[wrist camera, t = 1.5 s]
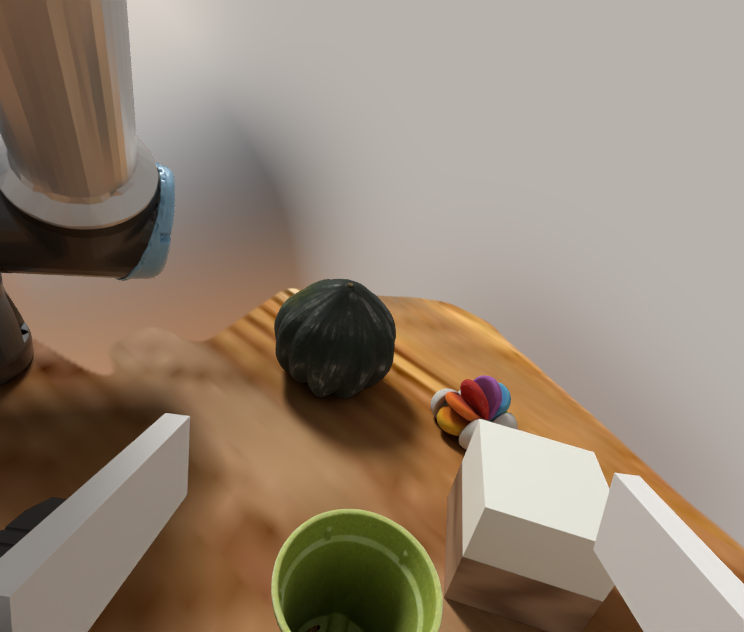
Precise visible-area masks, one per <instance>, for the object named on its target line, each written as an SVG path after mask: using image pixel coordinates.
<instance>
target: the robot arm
mask: <svg viewBox="0 0 744 632" xmlns="http://www.w3.org/2000/svg"><path fill="white" fill-rule="evenodd" d="M0 134H1V136H0V385H2V384H4V383H6V382H8V381H9V380H11V379H12V378H14V377H15V376H17V375H18V374H20V373H21V372H22V371H23V370H24V369H25V368H26V367H27V366H28V365H29V363H30V362H31V360H32V357H33V343H32V336H31V332H30V330H29V328H28V326H27V324H26V323H25V322H24V320H23V318H22V316H21V314H20V313H19V311H18V310H17V308H16V306H15V305H14V303H13V301H12V300H11V298H10V297H9V295H8V293H7V292H6V290H5V288H4V286H3V282H2V276H1V273H23V274H24V273H25V274H43V275H63V276H84V277H103V278H116V279H118V280H123V281H124V280H128V279H150V278H154V277H156V276H158V275H159V274H160V273H161V272H162V271H163V269H164V267H165V264H166V261H167V258H168V253H169V248H170V235H171V232H172V227H173V219H174V207H175V181H174V176H173V173H172V171H170V170H169V168H167V167H165V166H162V165H160V164H158V163H155V160H154V157H153V155H152V153H151V151H150V150H149V149H148V147H147V146H146V145H145V143H144V142H143V141H142V140H141V139H140V138H139V137H138V136H137V135H136V126H135V113H134V99H133V85H132V71H131V57H130V43H129V30H128V16H127V3H126V0H0ZM189 433H190V416H185V415H178V414H170V413H165V414H164V415H163V416H161V417H160V418H159V419H158V420H157V421H156V422H155V423H153V424H152V425H151V426H150V427H149V428H148V429H147V430H146V431H144V432H143V433H142V434H141V435H140V436H139V437H138V438H136V439H135V440H134V441H133V442H132V443H131V444H130V445H128V446H127V447H126V448H125V449H124V450H123V451H122V452H120V453H119V454H118V455H117V456H116V457H115V458H114V459H112V460H111V461H110V462H109V463H108V464H107V465H106V466H104V467H103V468H102V469H101V470H100V471H99V472H98V473H97V474H95V475H94V476H93V477H92V478H91V479H90V480H89V481H87V482H86V483H85V484H84V485H83V486H82V487H81V488H79V489H78V490H77V491H76V492H75V493H74V494H73V495H71V496H70V497H69V498H68V499H61V498H54V497H52V498H50V499H48V500H46V501H44V502H42V503H40V504H38V505H36V506H34V507H32V508H30V509H28V510H26V511H25V512H23V513H22V514H21V515H20V516H18V517H17V518H16V519H15V520H13V521H12V522H11V523H10V524H8V525H7V526H6V528H5V530H1V531H0V632H88V631H89V629H90V628H91V626H92V625H93V624H94V622H95V621H96V620H97V618H98V617H99V615H100V614H101V613H102V611H103V610H104V609H105V607H106V606H107V604H108V603H109V602H110V600H111V599H112V598H113V596H114V595H115V593H116V592H117V591H118V589H119V588H120V587H121V585H122V584H123V582H124V581H125V580H126V578H127V577H128V576H129V574H130V573H131V571H132V570H133V569H134V567H135V566H136V565H137V563H138V562H139V560H140V559H141V558H142V556H143V555H144V554H145V552H146V551H147V549H148V548H149V547H150V545H151V544H152V542H153V541H154V540H155V538H156V537H157V536H158V534H159V533H160V531H161V530H162V529H163V527H164V526H165V525H166V523H167V522H168V520H169V519H170V518H171V516H172V515H173V514H174V512H175V511H176V509H177V508H178V507H179V505H180V504H181V503H182V501H183V500H184V498H185V497H186V496H187V488H188V460H189ZM593 550H594V552H595V553H596V555H597V557H598V558H599V560H600V561H601V563H602V565H603V566H604V568H605V570H606V571H607V573H608V575H609V576H610V578H611V579H612V581H613V583H614V584H615V586H616V588H617V589H618V591H619V592H620V594H621V596H622V597H623V599H624V601H625V602H626V604H627V606H628V607H629V609H630V610H631V612H632V614H633V615H634V617H635V619H636V620H637V622H638V623H639V625H640V627H641V628H642V630H643V632H744V584H743V583H742V582H741V581H740V580H739V579H738V578H737V577H736V576H735V575H734V574H733V573H732V572H731V571H730V570H729V568H728V567H727V566H726V565H725V564H724V563H723V562H722V561H721V560H720V559H719V558H718V557H717V556H716V555H715V554H714V553H713V552H712V551H711V550H710V549H709V548H708V547H707V546H706V545H705V544H704V543H703V542H702V541H701V539H700V538H699V537H698V536H697V535H696V534H695V533H694V532H693V531H692V530H691V529H690V528H689V527H688V526H687V525H686V524H685V523H684V522H683V521H682V520H681V519H680V518H679V517H678V516H677V515H676V514H675V513H674V511H673V510H672V509H671V508H670V507H669V506H668V505H667V504H666V503H665V502H664V501H663V500H662V499H661V498H660V497H659V496H658V495H657V494H656V493H655V492H654V491H653V490H652V489H651V488H650V487H649V486H648V485H647V484H646V482H645V481H644V480H643V479H642V478H641V477H640V476H635V475H627V474H620V473H614V476H613V480H612V483H611V487H610V490H609V494H608V498H607V501H606V505H605V508H604V512H603V516H602V519H601V523H600V526H599V530H598V534H597V537H596V541H595V544H594V548H593Z"/></svg>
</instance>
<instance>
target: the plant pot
mask: <svg viewBox="0 0 744 632" xmlns="http://www.w3.org/2000/svg"><path fill="white" fill-rule="evenodd" d="M271 595H272V605H273V609H274V614H275V617H276V620H277V623H278V626H279V628H280V630H281V632H306V631H307V630H308V629H310V628H311V627H313V626H317V625H319V626H320V630H318V631H316V632H438V631H439V628H440V624H441V619H442V611H443V599H442V598H443V596H442V590H441V585H440V581H439V577H438V574H437V572H436V569H435V567H434V565H433V563H432V561H431V559H430V557H429V555H428V554H427V552H426V551H425V549H424V548H423V547H422V545H421V544H420V543H419V542H418V541H417V540H416V539H415V538H414V537H413V536H412V534H410V533H409V532H408V531H407V530H406V529H404V528H403V527H402V526H400V525H398V524H397V523H395V522H394V521H392V520H390V519H388V518H386V517H384V516H381V515H378V514H375V513H373V512H369V511H365V510H358V509H339V510H333V511H329V512H325V513H322V514H319V515H316V516H314V517H313V518H311V519H309V520H308V521H306V522H304V523H303V524H302V525H300V526H299V527H298V528H297V529H296V530H295V531H294V532H293V533H292V534H291V535H290V537H289V538H288V539H287V540H286V542H285V543H284V545H283V546H282V548H281V550H280V552H279V554H278V557H277V559H276V562H275V566H274V570H273V575H272V587H271Z"/></svg>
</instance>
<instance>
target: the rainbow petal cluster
mask: <svg viewBox="0 0 744 632" xmlns="http://www.w3.org/2000/svg"><path fill="white" fill-rule="evenodd" d="M510 402H511V396H510V393H509V391H508V389H507V388H506V387H505V386H504V385H503V384H501V383H498V382H497V381H496V380H495V379H494V378H492V377H490V376H479V377H477V378H476V379H474V380H473V381H472V380H469V379H466V380H464V381H463V382H462V383H461V386H460V390H459V391H458V392H457V391H455V390H452V389H442V390H440V391H438V392H437V393H436V394H435V395H434V396H433V398H432V400H431V410H432V413H433V415H434V416H435V417H436V418H437V423H438V425H439V427H440V428H441V429H443V430H444V431H445V432H447V433H449V434H452V435H456V436H459V444H460V446H461V447H463V448H464V449H466V450H467V448H468V446H469V443H470V441H471V438H472V436H473V433H474V431H475V428H476V426H477V423H478V421H479V419H482V420H486V421H489V422H493V423H496V424H499V425H503V426H506V427H510V428H513V429H516V430H517V428H518V426H517V421H516V419H515V417H514V416H513V415H512V414H511V413H507V410H508V408H509V406H510Z"/></svg>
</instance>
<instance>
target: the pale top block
mask: <svg viewBox="0 0 744 632" xmlns="http://www.w3.org/2000/svg"><path fill="white" fill-rule="evenodd" d="M608 494H609V487H608V485H607V482H606V480H605V478H604V475H603V473H602V470H601V468H600V466H599V463H598V461H597V458H596V456H595V454H594V452H591V451H588V450H584V449H581V448H577V447H574V446H571V445H567V444H564V443H560V442H557V441H554V440H550V439H547V438H543V437H540V436H537V435H533V434H530V433H526V432H523V431H520V430H516V429H513V428H510V427H506V426H503V425H499V424H496V423H493V422H489V421H486V420H482V419H479V421H478V423H477V426H476V428H475V431H474V433H473V436H472V438H471V441H470V443H469V446H468V448H467V451H466V453H465V456H464V458H463V461H462V521H463V557H465V558H469V559H472V560H475V561H478V562H481V563H484V564H487V565H490V566H493V567H497V568H500V569H503V570H506V571H509V572H512V573H515V574H518V575H521V576H525V577H528V578H531V579H534V580H537V581H540V582H543V583H546V584H549V585H553V586H556V587H559V588H562V589H565V590H568V591H571V592H574V593H577V594H581V595H584V596H587V597H590V598H593V599H596V600H599V601H602V602H603V601H604V600H605V598H606V597H607V596H608V594H609V593H610V591H611V590H612V588H613V587H614V585H615V584H614V583H613V581H612V579H611V578H610V576H609V575H608V573H607V571H606V570H605V568H604V566H603V565H602V563H601V561H600V560H599V558H598V557H597V555H596V553H595V552H594V550H593V548H594V544H595V541H596V537H597V534H598V530H599V526H600V523H601V519H602V516H603V512H604V508H605V505H606V501H607V498H608Z"/></svg>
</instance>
